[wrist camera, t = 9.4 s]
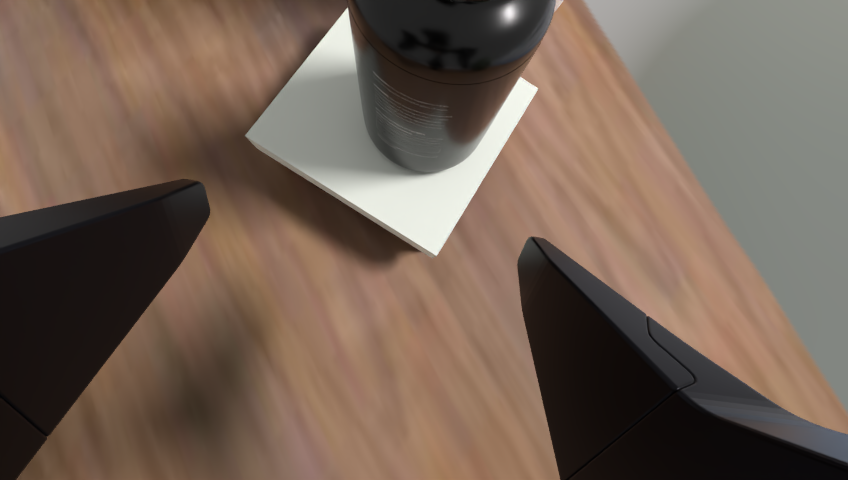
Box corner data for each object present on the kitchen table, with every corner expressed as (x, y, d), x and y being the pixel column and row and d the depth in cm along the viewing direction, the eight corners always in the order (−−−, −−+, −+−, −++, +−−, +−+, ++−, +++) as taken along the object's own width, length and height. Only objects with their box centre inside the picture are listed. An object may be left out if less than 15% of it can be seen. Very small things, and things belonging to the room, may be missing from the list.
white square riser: (427, 261, 21) (436, 255, 17) (271, 164, 21) (244, 135, 17) (512, 122, 23) (538, 88, 19) (372, 32, 23) (369, -20, 19)
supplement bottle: (505, 136, 19) (711, -127, 7) (409, 199, 17) (454, 10, 6) (438, 44, 19) (520, -358, 7) (339, 98, 18) (242, -276, 6)
